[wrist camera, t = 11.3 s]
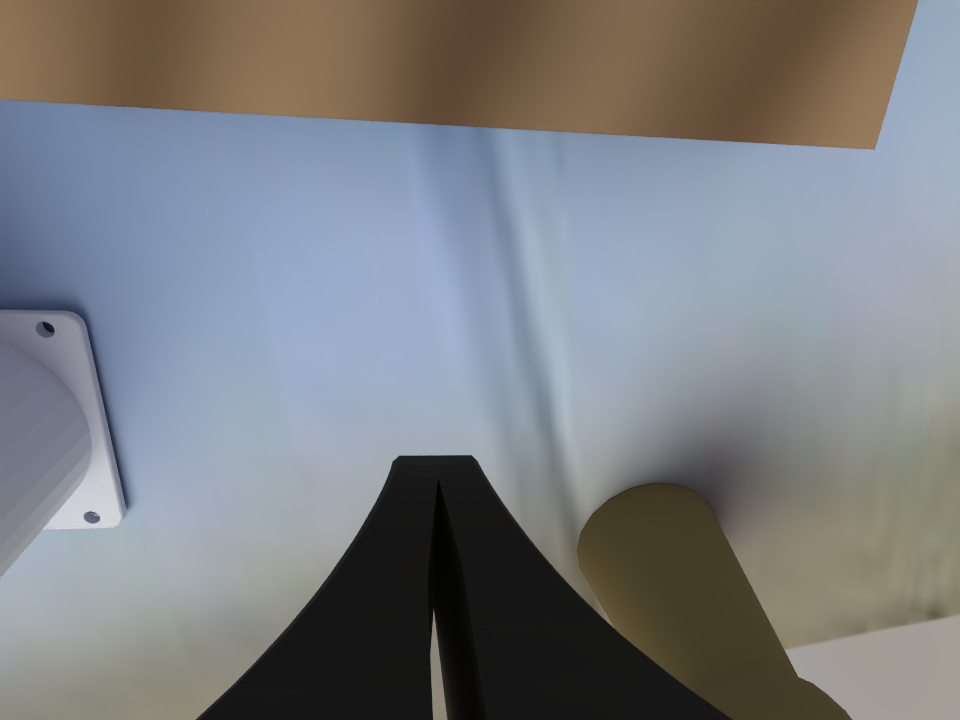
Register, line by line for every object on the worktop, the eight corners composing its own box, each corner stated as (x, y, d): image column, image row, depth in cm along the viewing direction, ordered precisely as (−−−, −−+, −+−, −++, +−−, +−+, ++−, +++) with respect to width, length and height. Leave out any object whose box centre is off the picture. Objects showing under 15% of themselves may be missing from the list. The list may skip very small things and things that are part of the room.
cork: (548, 566, 25) (645, 883, 15) (638, 459, 23) (818, 733, 13) (654, 615, 26) (804, 926, 16) (744, 519, 25) (973, 800, 15)
